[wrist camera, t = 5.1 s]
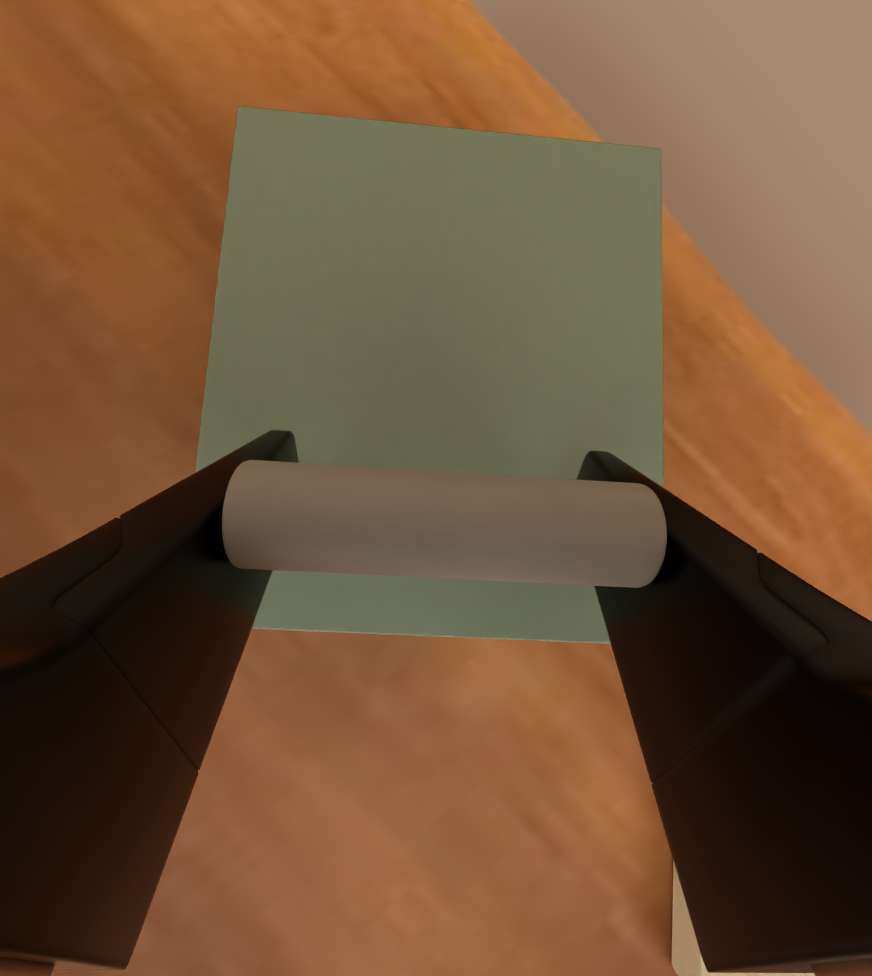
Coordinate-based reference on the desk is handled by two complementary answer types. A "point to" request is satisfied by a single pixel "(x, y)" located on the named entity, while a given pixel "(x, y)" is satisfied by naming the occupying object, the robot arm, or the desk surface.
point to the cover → (437, 375)
